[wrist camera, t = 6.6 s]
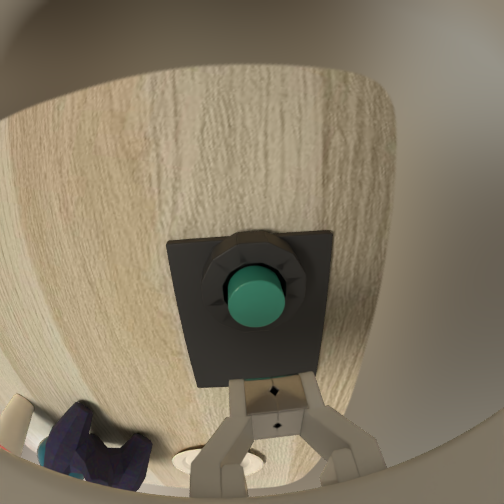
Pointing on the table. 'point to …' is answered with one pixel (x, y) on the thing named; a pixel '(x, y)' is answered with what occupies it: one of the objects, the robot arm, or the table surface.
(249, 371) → the black button base plate
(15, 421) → the cup
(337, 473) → the robot arm
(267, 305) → the button
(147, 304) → the table surface
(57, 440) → the tetrapod
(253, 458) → the candle holder
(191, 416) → the table surface
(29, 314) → the table surface
